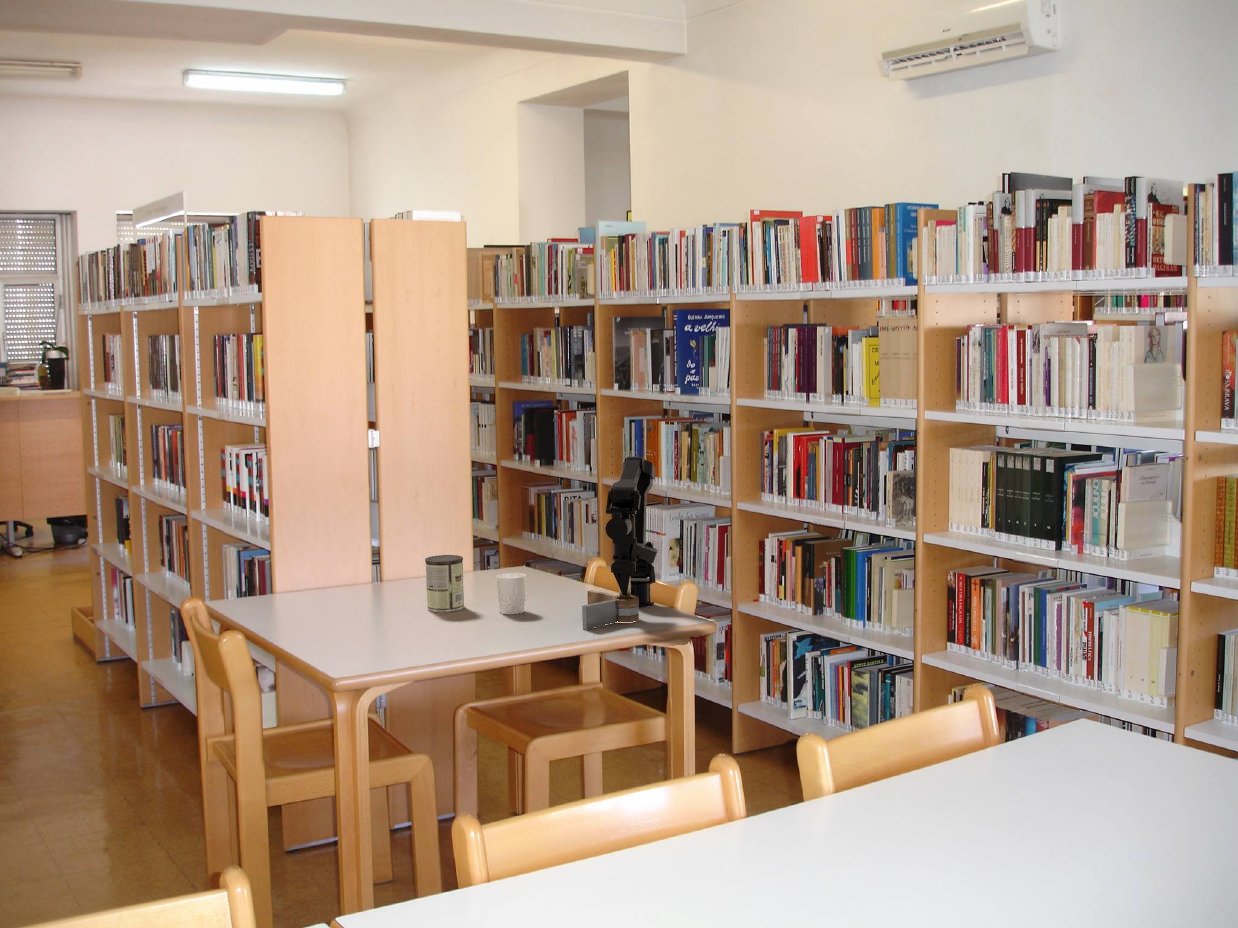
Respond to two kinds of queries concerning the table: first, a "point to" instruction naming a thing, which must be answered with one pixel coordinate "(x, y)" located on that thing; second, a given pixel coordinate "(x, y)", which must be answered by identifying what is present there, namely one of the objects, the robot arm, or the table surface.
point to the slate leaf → (604, 613)
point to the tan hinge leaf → (633, 602)
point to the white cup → (511, 592)
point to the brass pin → (628, 596)
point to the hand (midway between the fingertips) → (625, 593)
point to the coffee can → (444, 583)
